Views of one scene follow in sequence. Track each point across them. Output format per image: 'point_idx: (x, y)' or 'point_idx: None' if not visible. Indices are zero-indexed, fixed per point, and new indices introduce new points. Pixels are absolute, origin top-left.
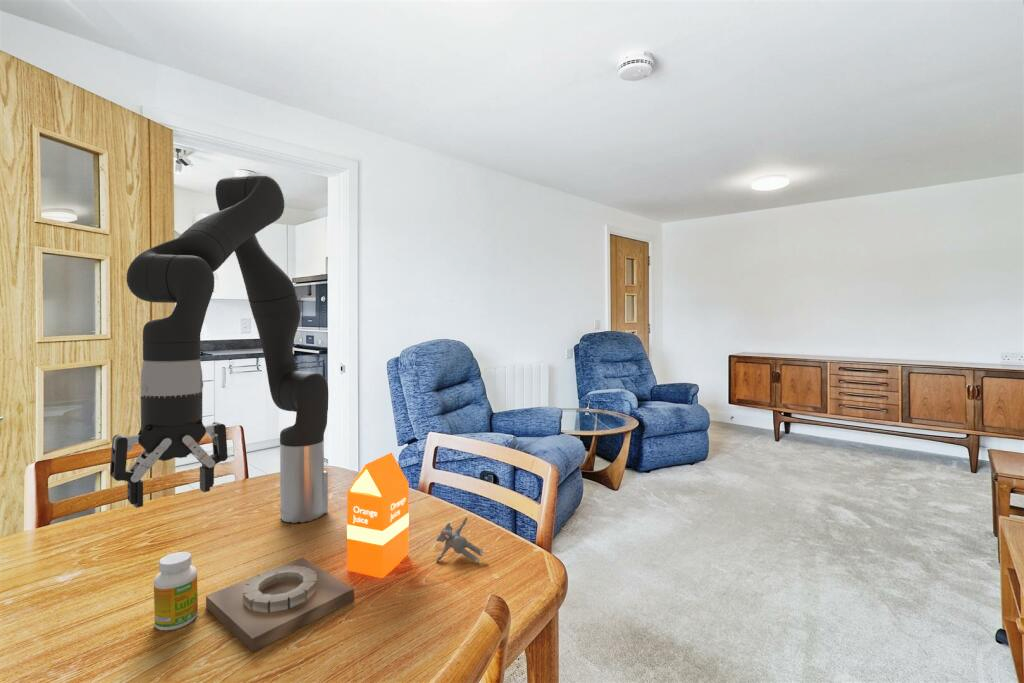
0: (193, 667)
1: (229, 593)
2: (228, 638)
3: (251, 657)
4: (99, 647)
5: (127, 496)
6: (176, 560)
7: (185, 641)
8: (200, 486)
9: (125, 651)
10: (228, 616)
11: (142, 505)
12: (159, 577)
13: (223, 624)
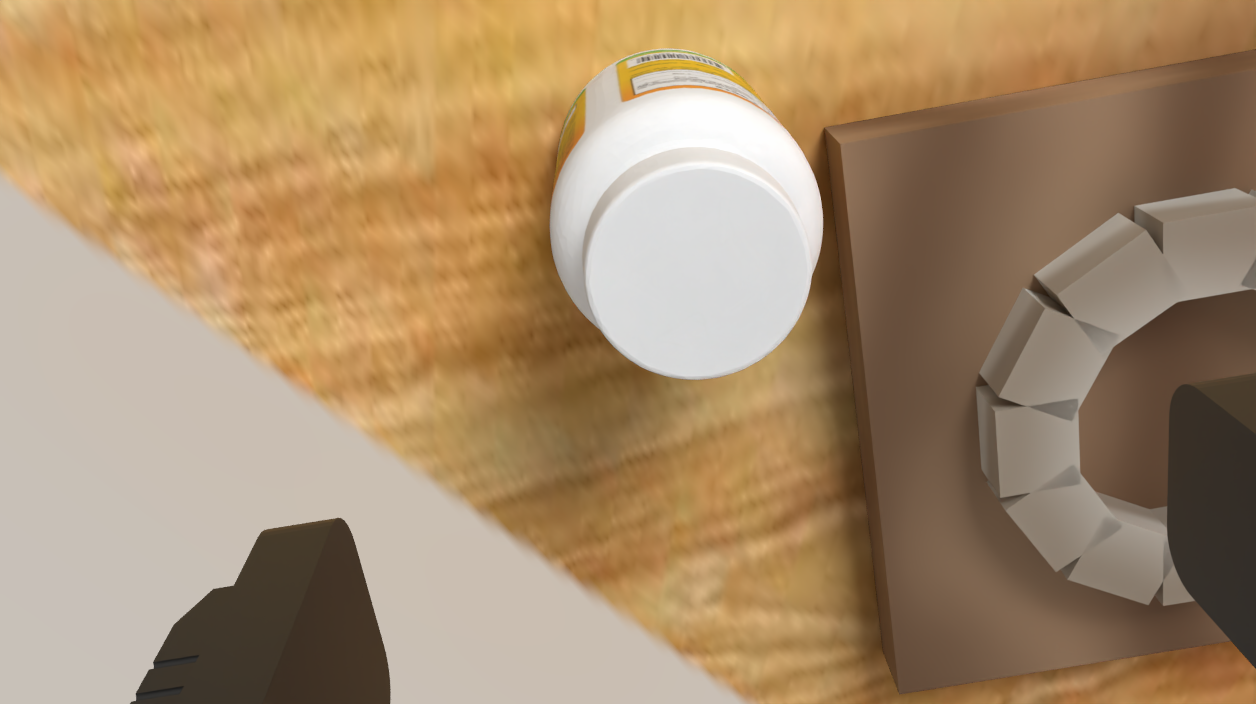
0: (664, 597)
1: (957, 214)
2: (835, 490)
3: (868, 673)
4: (307, 169)
5: (159, 651)
6: (697, 331)
7: (670, 389)
8: (1199, 428)
9: (422, 293)
10: (874, 456)
11: (384, 696)
12: (581, 263)
13: (851, 365)
